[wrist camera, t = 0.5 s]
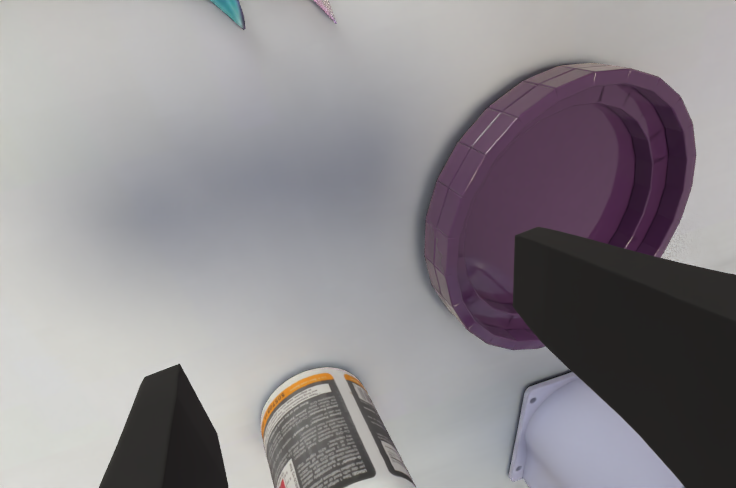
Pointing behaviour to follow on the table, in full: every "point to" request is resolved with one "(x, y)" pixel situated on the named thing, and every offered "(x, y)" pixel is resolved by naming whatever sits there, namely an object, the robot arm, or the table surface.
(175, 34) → the table surface
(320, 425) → the pill bottle
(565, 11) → the table surface
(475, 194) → the dish
